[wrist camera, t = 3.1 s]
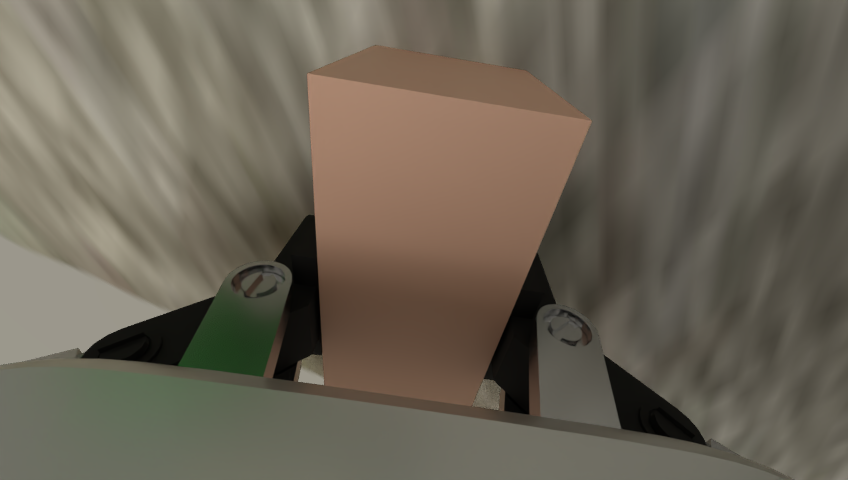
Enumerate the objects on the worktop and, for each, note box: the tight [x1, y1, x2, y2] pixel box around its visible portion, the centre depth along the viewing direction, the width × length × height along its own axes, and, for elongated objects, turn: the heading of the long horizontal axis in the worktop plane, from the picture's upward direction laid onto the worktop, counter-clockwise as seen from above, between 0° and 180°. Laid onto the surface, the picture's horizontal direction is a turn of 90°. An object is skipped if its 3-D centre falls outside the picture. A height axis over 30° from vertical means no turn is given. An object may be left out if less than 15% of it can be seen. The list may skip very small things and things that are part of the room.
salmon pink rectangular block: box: [307, 45, 592, 406], centre depth 9 cm, size 4×10×5 cm, turn 172°
